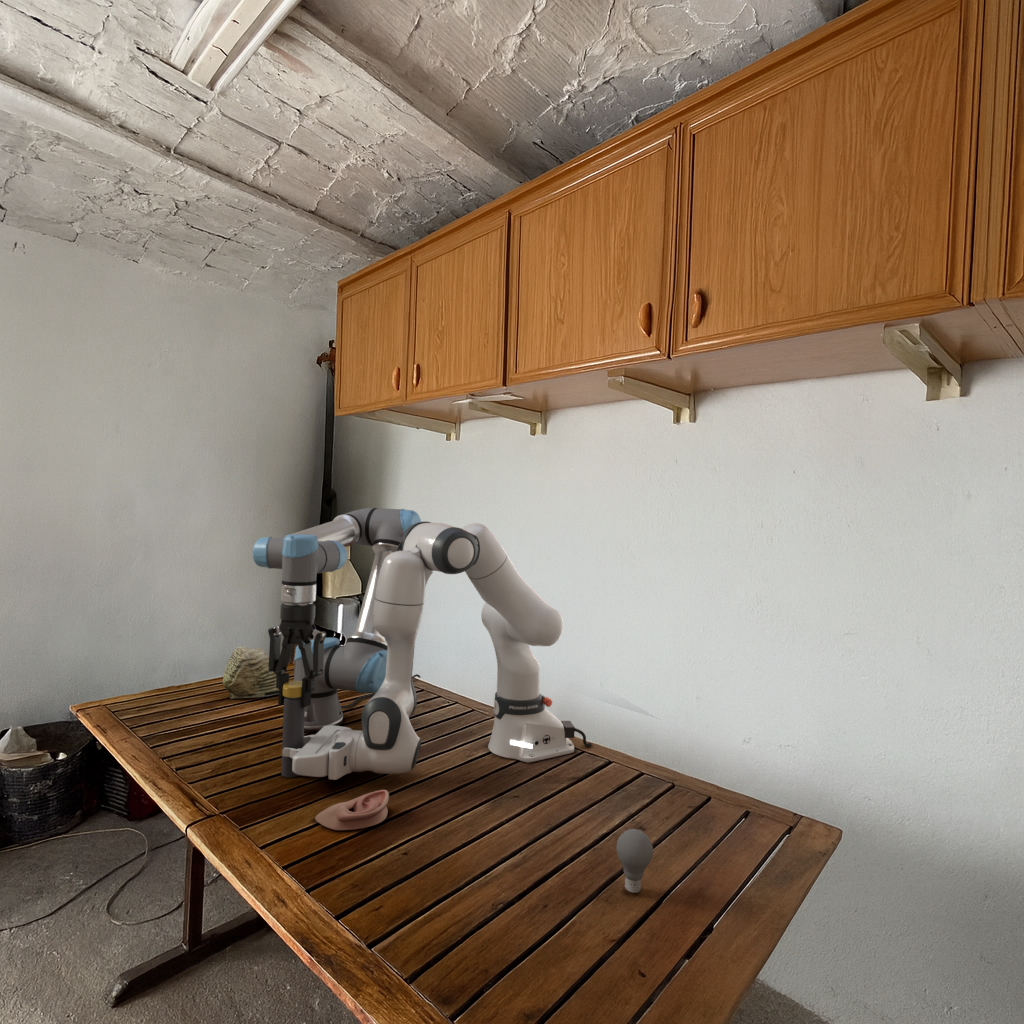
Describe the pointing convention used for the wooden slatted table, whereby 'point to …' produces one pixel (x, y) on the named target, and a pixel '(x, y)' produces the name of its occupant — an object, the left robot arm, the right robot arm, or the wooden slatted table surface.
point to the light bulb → (634, 857)
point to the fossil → (249, 674)
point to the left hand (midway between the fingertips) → (294, 704)
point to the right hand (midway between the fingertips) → (288, 746)
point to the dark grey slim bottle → (292, 731)
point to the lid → (292, 689)
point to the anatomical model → (356, 812)
